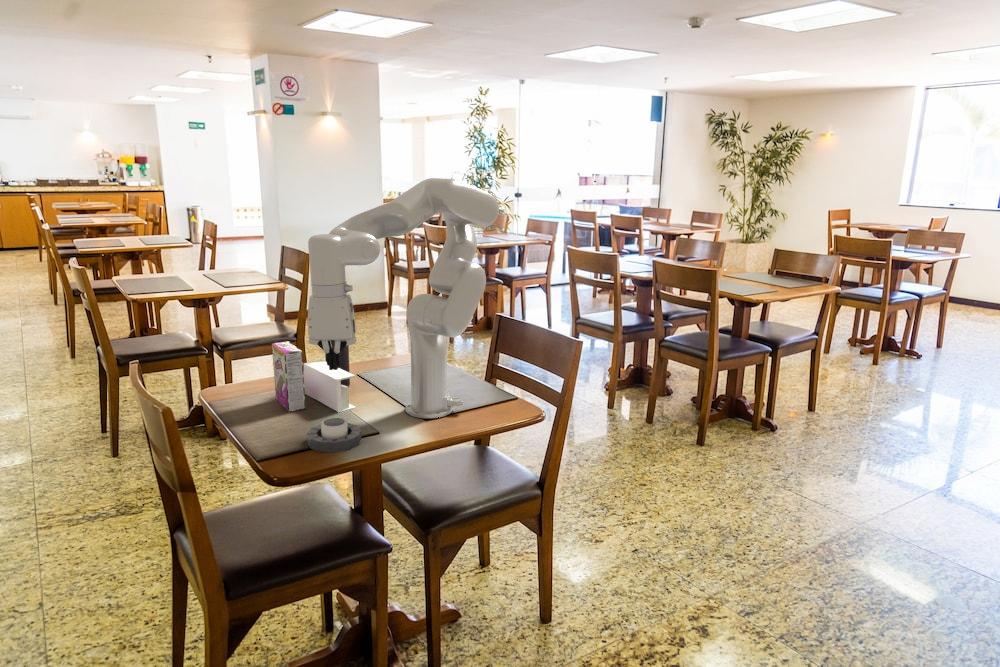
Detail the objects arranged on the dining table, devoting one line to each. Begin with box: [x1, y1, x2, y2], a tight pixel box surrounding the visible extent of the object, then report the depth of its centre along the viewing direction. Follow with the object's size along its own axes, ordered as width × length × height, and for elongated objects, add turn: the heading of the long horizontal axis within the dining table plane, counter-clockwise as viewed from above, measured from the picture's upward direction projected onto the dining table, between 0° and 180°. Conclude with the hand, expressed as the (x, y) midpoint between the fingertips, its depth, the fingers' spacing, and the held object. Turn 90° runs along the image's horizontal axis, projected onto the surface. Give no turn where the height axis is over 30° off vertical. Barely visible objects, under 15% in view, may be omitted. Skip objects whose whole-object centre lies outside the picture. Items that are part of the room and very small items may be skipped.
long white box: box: [303, 359, 357, 414], centre depth 184 cm, size 20×6×9 cm, turn 42°
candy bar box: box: [271, 340, 306, 412], centre depth 179 cm, size 11×5×16 cm, turn 35°
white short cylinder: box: [320, 417, 348, 439], centre depth 157 cm, size 6×6×5 cm
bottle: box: [324, 341, 351, 387], centre depth 195 cm, size 7×7×20 cm
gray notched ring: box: [306, 422, 362, 453], centre depth 158 cm, size 12×12×2 cm
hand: (334, 368), depth 154 cm, fingers closed
